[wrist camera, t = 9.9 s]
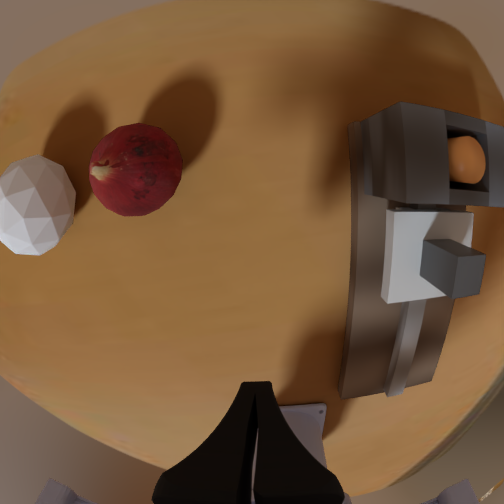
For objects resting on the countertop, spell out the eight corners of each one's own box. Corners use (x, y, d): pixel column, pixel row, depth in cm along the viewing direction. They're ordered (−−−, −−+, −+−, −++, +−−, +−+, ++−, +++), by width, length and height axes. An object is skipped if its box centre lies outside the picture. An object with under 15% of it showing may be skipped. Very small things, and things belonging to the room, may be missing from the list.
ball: (92, 189, 23) (97, 207, 17) (42, 253, 21) (34, 293, 15) (40, 136, 18) (23, 133, 12) (-10, 204, 16) (-39, 230, 10)
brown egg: (450, 181, 15) (486, 185, 11) (420, 178, 15) (455, 181, 11) (448, 143, 14) (484, 139, 10) (418, 138, 14) (452, 132, 11)
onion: (178, 118, 18) (130, 89, 11) (206, 189, 20) (170, 198, 12) (113, 154, 19) (46, 149, 11) (139, 220, 20) (79, 245, 13)
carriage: (447, 281, 19) (494, 315, 13) (375, 290, 19) (413, 333, 13) (455, 208, 17) (510, 223, 11) (379, 207, 18) (428, 223, 11)
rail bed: (425, 372, 23) (456, 419, 16) (337, 389, 24) (355, 449, 16) (453, 137, 17) (515, 131, 10) (347, 125, 18) (391, 100, 11)
